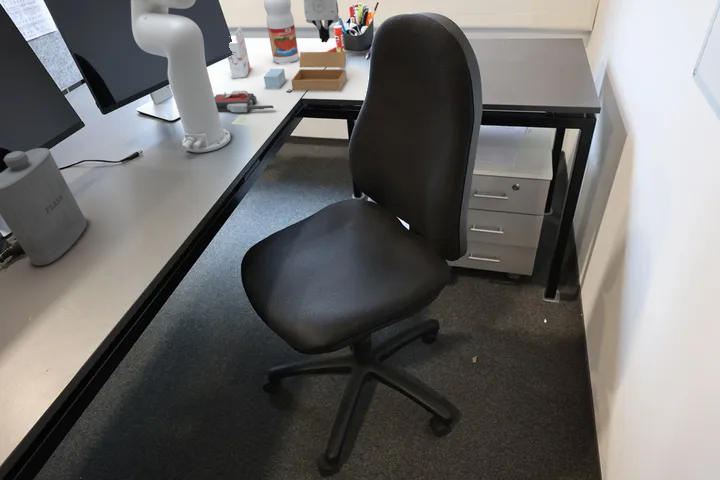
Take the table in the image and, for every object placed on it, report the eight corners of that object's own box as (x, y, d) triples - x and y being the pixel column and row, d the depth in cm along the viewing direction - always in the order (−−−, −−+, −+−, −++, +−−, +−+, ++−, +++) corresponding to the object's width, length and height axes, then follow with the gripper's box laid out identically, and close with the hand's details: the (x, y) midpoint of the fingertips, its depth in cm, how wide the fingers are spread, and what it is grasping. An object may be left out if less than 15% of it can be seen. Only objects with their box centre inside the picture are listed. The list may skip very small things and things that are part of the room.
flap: (299, 67, 159) (299, 67, 159) (345, 67, 156) (345, 67, 156) (300, 52, 158) (300, 52, 159) (345, 52, 155) (346, 52, 156)
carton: (301, 79, 161) (299, 69, 159) (346, 79, 158) (345, 69, 156) (292, 91, 154) (291, 80, 152) (339, 91, 151) (338, 80, 149)
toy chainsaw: (207, 114, 144) (273, 113, 142) (203, 100, 141) (270, 98, 139) (216, 102, 150) (279, 100, 148) (213, 88, 148) (277, 86, 146)
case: (279, 88, 156) (277, 76, 154) (265, 88, 157) (263, 76, 154) (285, 80, 161) (284, 68, 159) (272, 80, 162) (270, 68, 160)
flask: (55, 266, 92) (-1, 176, 80) (27, 266, 93) (-33, 177, 81) (95, 220, 104) (52, 134, 91) (70, 219, 105) (24, 135, 92)
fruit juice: (292, 53, 183) (279, -30, 165) (303, 60, 176) (291, -27, 159) (269, 59, 179) (254, -26, 162) (280, 66, 173) (265, -22, 155)
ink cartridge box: (237, 69, 173) (227, 26, 164) (250, 68, 173) (241, 25, 163) (231, 78, 166) (221, 33, 157) (246, 77, 166) (236, 32, 157)
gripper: (291, -18, 145) (300, 45, 157) (339, -20, 142) (345, 44, 154) (298, -24, 151) (306, 37, 162) (344, -26, 148) (349, 37, 160)
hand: (325, 40), depth 158 cm, fingers closed
